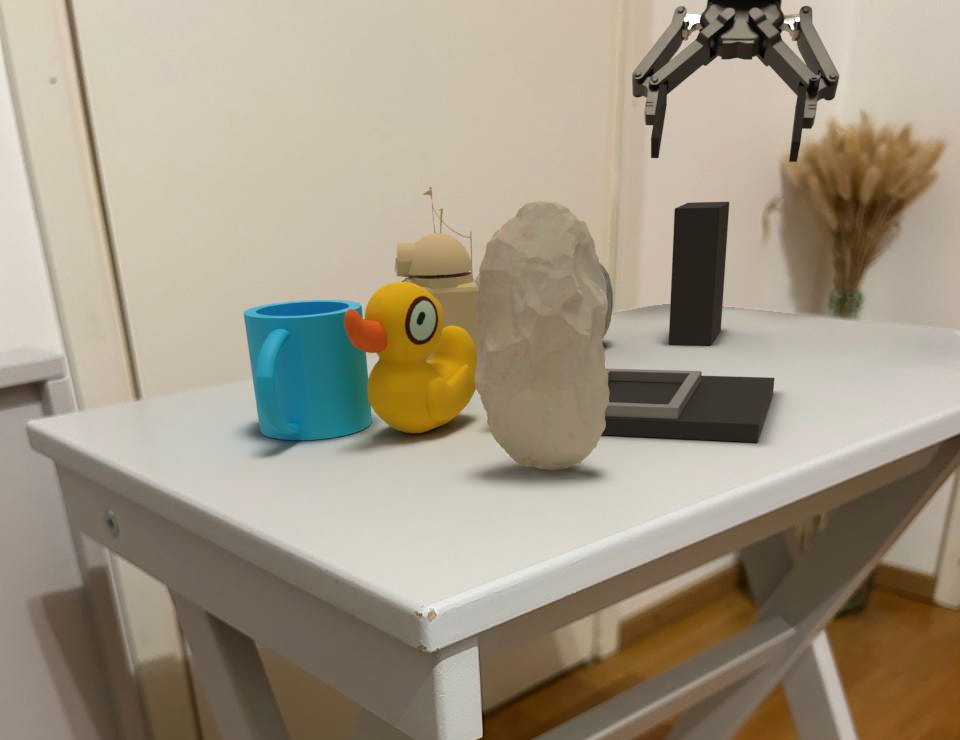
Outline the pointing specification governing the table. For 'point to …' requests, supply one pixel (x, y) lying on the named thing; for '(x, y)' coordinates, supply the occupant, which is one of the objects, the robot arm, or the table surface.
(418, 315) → the duckling
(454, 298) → the robot
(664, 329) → the table surface
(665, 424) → the base pad
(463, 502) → the table surface
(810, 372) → the table surface
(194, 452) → the table surface
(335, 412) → the mug
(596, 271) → the stone
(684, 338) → the pad block
